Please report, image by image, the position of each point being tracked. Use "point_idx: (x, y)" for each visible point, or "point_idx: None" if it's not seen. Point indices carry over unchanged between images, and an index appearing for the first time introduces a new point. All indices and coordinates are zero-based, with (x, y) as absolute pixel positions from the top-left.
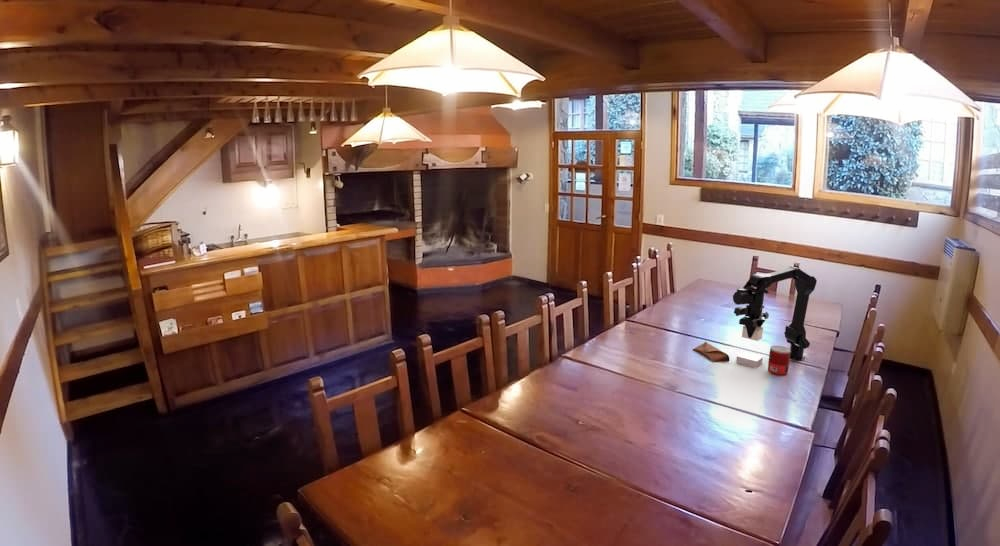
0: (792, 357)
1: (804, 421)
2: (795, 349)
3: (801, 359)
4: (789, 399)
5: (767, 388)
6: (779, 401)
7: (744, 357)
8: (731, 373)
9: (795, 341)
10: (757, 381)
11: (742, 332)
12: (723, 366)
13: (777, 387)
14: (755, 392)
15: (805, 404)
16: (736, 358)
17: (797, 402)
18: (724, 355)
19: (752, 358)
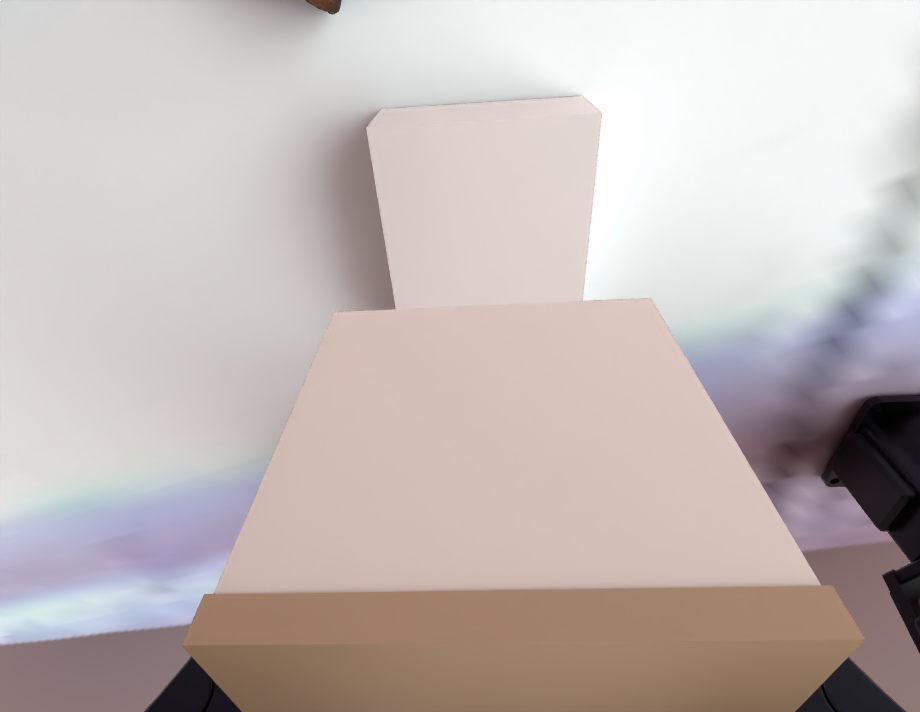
0: (844, 448)
1: (36, 640)
2: (905, 521)
3: (841, 484)
4: (147, 577)
5: (142, 492)
6: (73, 563)
7: (405, 228)
8: (62, 231)
9: (918, 629)
10: (167, 427)
11: (299, 407)
12: (113, 59)
13: (217, 516)
14: (10, 474)
15: (177, 615)
16: (373, 119)
17: (158, 598)
18: None
19: (451, 304)
